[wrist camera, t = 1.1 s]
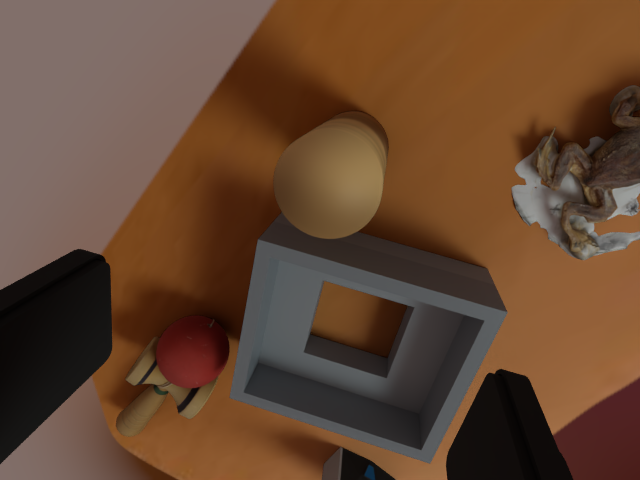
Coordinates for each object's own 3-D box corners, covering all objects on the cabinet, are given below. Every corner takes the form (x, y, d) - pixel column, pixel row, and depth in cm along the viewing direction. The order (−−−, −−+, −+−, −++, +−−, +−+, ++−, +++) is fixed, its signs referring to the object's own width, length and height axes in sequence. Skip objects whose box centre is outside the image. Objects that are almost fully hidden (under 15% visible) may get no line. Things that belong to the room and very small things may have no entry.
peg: (326, 102, 27) (284, 118, 17) (397, 121, 27) (396, 147, 17) (311, 172, 29) (265, 222, 19) (376, 190, 29) (365, 251, 19)
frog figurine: (619, 21, 23) (659, 11, 19) (752, 158, 24) (811, 171, 21) (467, 168, 28) (477, 181, 24) (585, 277, 29) (611, 304, 25)
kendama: (181, 425, 44) (261, 348, 35) (136, 473, 39) (217, 396, 29) (134, 375, 45) (200, 285, 35) (83, 415, 39) (145, 322, 30)
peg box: (283, 210, 31) (258, 239, 25) (487, 268, 29) (507, 312, 24) (255, 349, 36) (229, 398, 31) (425, 403, 35) (430, 463, 30)
